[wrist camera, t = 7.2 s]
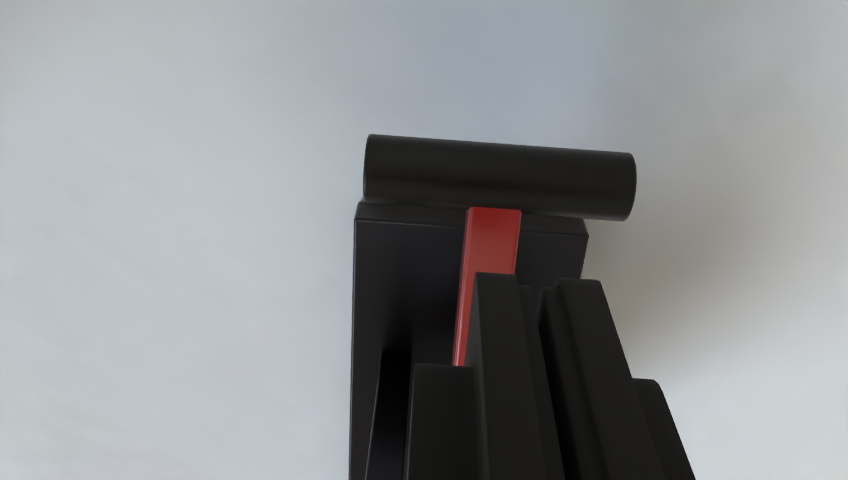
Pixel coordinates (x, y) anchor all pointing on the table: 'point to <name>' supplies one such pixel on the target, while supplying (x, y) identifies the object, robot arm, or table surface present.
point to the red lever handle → (495, 194)
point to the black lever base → (422, 312)
